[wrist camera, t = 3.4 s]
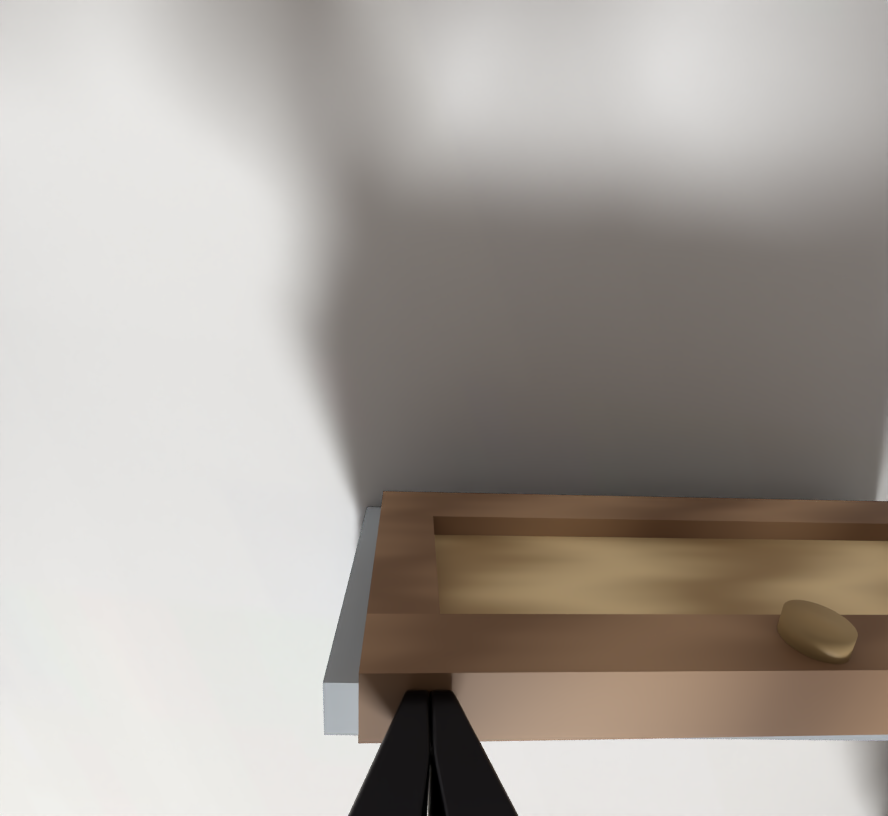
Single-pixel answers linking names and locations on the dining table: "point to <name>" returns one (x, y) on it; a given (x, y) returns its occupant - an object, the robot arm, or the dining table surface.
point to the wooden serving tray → (630, 615)
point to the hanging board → (349, 640)
